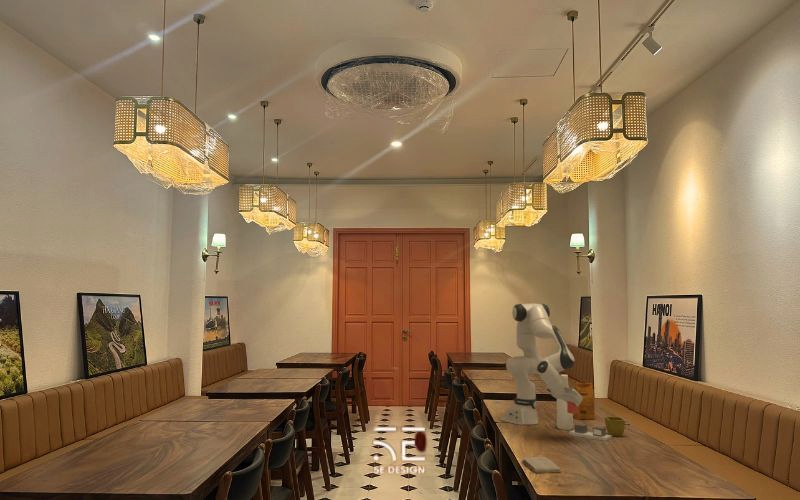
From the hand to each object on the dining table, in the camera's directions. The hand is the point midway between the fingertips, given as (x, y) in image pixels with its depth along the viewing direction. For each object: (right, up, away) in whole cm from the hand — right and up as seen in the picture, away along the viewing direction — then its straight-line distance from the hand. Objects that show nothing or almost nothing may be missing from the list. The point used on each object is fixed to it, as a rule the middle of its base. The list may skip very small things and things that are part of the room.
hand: (573, 404), depth 297 cm
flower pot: (+24, -18, +5) cm, 30 cm away
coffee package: (+21, -22, +48) cm, 57 cm away
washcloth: (-32, -12, -56) cm, 65 cm away
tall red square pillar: (-1, -4, -1) cm, 4 cm away
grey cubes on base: (+9, -17, +1) cm, 20 cm away
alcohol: (+1, -19, +19) cm, 27 cm away
